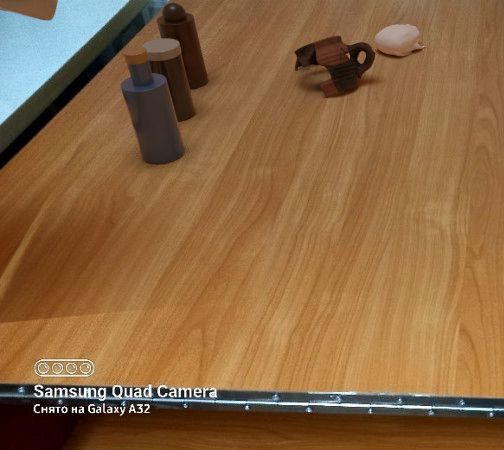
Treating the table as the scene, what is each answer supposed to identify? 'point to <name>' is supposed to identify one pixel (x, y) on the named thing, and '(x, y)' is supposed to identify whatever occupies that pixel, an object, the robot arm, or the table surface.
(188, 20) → the pepper mill
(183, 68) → the salt shaker
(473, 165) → the table surface
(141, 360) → the table surface
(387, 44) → the pale pink rounded lump
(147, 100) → the blue bottle
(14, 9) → the robot arm
